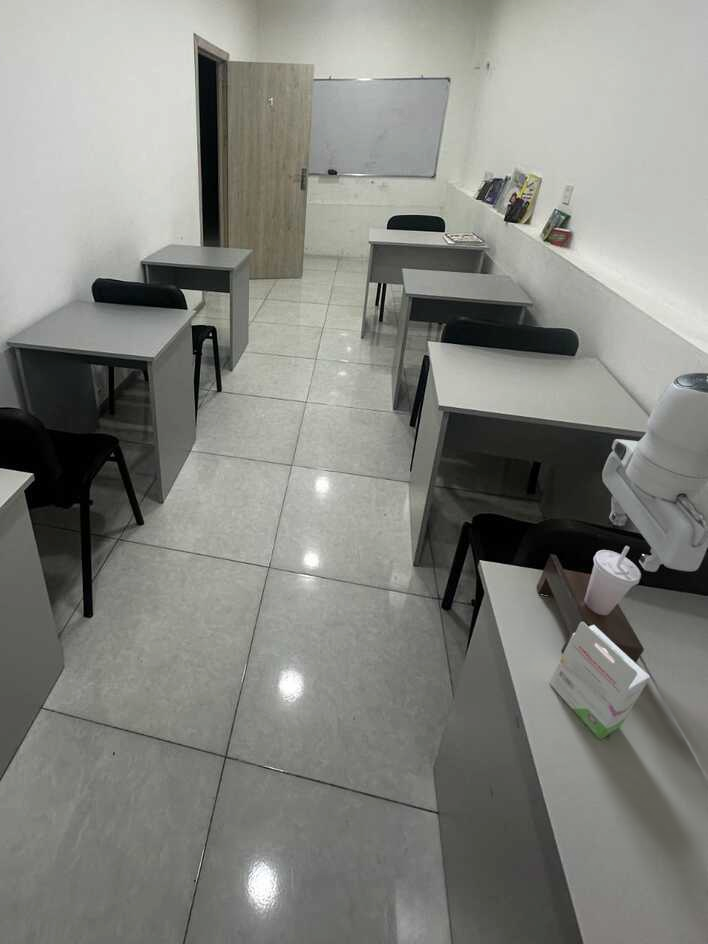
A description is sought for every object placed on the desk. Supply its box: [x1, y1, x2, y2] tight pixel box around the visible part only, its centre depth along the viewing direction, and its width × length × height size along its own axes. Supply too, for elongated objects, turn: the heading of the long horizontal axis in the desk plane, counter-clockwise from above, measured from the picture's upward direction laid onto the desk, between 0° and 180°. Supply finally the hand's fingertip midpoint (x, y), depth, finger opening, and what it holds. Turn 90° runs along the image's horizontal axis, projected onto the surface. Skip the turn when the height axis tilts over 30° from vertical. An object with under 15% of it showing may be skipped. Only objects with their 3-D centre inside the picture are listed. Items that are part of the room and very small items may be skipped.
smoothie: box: [585, 545, 642, 615], centre depth 80 cm, size 6×6×14 cm
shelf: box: [535, 553, 645, 664], centre depth 83 cm, size 10×14×9 cm
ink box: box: [549, 622, 651, 741], centre depth 70 cm, size 9×5×15 cm, turn 22°
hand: (630, 543), depth 77 cm, fingers open, 8 cm apart
